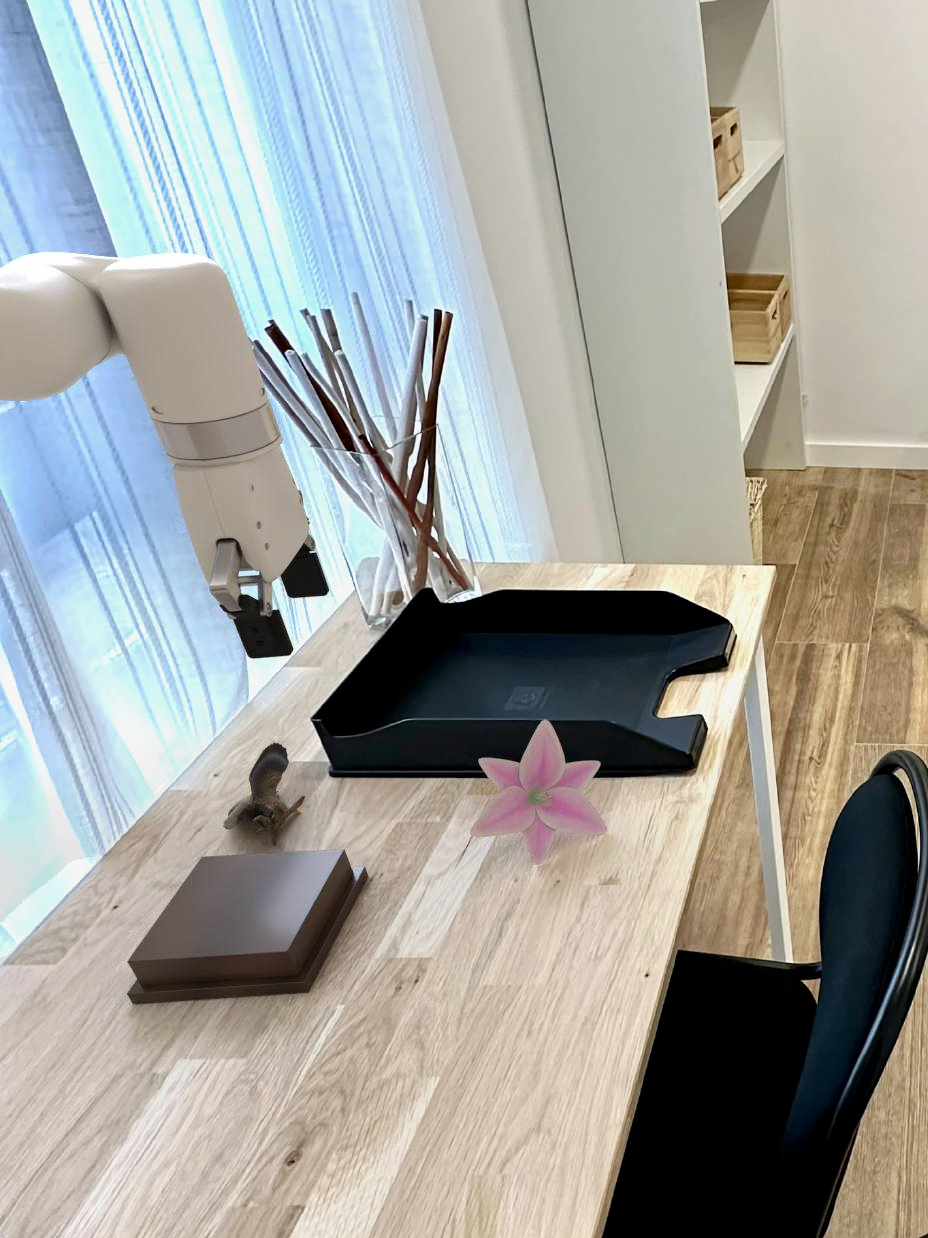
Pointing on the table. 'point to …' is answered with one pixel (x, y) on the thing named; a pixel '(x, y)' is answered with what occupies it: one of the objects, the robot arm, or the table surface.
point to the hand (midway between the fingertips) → (291, 624)
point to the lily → (539, 795)
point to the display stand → (247, 927)
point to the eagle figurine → (265, 795)
